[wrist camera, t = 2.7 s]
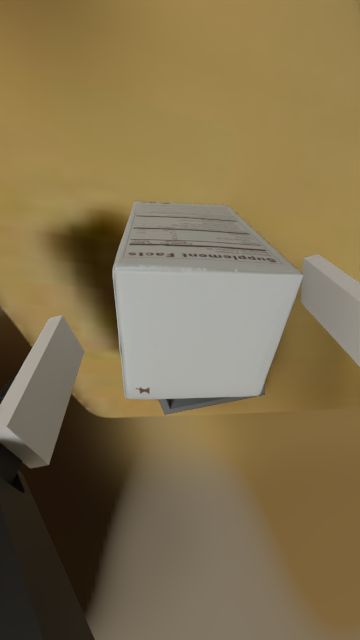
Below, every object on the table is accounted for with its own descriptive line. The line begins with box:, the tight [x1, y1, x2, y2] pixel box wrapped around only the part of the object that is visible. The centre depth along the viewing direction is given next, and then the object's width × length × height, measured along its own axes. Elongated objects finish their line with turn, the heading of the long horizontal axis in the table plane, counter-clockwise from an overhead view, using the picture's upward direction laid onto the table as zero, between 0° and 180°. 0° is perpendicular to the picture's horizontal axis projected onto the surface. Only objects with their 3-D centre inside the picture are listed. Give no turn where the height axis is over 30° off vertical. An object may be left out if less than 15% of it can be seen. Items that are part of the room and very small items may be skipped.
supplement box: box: [112, 201, 304, 399], centre depth 16 cm, size 7×7×13 cm
